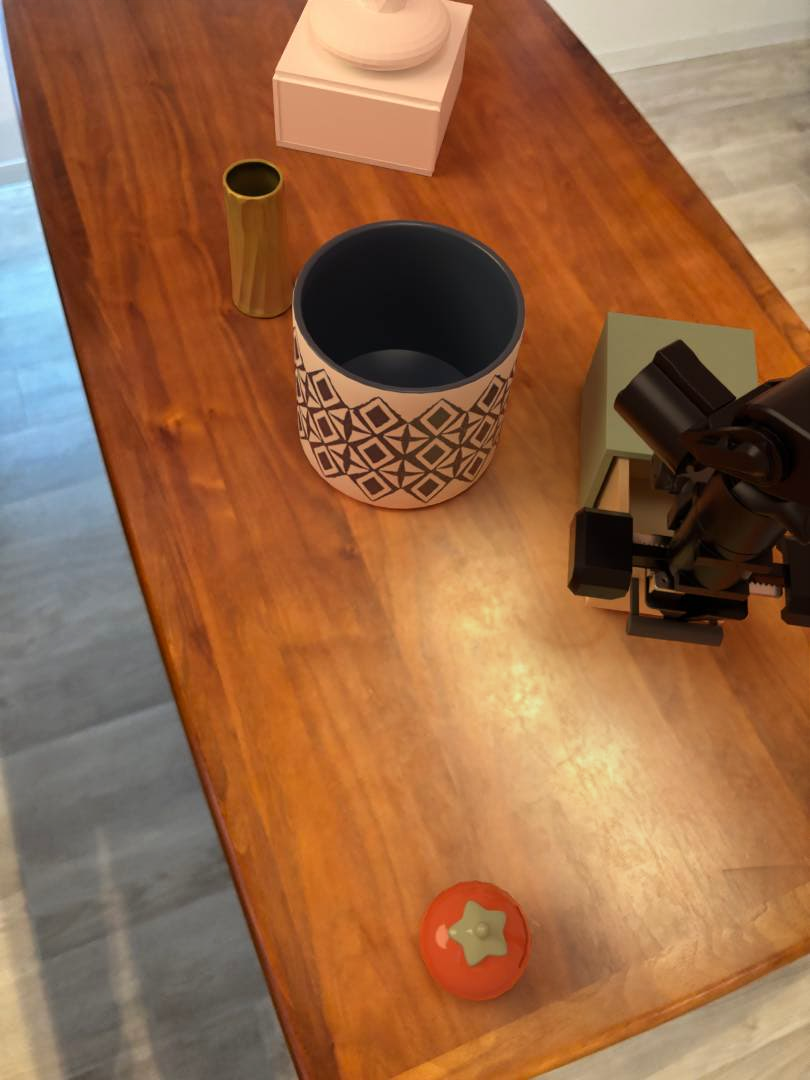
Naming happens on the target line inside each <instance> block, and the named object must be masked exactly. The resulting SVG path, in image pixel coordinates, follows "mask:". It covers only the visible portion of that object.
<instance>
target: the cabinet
mask: <svg viewBox="0 0 810 1080" xmlns="http://www.w3.org/2000/svg"><path fill="white" fill-rule="evenodd" d="M754 330H755V329H748V328H740V327H734V326H723V325H717V324H710V323H709V324H708V323H700V322H692V321H685V320H678V319H677V320H676V319H668V318H661V317H653V316H652V317H651V316H644V315H637V314H628V313H621V312H613V311H608V312H607V313H606V316H605V319H604V323H603V325H602V328H601V332H600V335H599V338H598V341H597V344H596V347H595V349H594V353H593V355H592V358H591V361H590V365H589V368H588V371H587V373H586V377H585V380H584V382H583V386H582V389H581V410H580V411H581V413H580V416H581V419H580V446H579V448H580V449H579V482H578V511H579V510H580V509H582V508H583V507H589V508H596V497H597V495H598V493H599V490H600V488H601V485H602V483H603V480H604V478H605V476H606V473H607V471H608V468H609V466H610V463H611V461H612V459H613V456H620V457H628V458H636V459H643V460H651V459H652V456H653V453H654V452H653V450H652V449H651V448H650V447H649V446H648V445H647V444H646V443H645V442H644V441H643V440H642V439H641V438H640V437H639V435H638V434H637V433H636V432H635V431H634V430H633V429H632V428H631V427H630V426H629V425H628V424H627V423H626V422H625V420H624V419H623V418H622V417H621V416H620V415H619V414H618V413H617V412H616V411H615V410H614V402H615V399H616V397H617V395H618V393H619V392H620V391H621V390H623V389H625V388H626V386H627V385H628V384H629V383H630V382H631V380H632V379H633V378H634V377H635V376H636V375H637V374H638V373H639V372H640V371H641V370H642V369H643V368H645V367H646V366H647V365H648V364H649V363H651V362H652V360H653V358H654V356H655V353H656V352H657V351H658V350H660V349H662V348H663V347H665V346H667V345H669V344H671V343H672V342H674V341H676V340H678V339H681V340H682V341H683V342H684V343H685V344H686V345H687V346H688V347H689V348H690V349H691V350H692V351H693V352H694V353H695V355H696V356H697V357H698V359H699V360H700V361H701V362H702V364H703V365H704V366H705V367H706V368H707V369H708V370H709V371H710V372H711V373H712V374H713V375H714V376H715V377H716V378H717V379H719V380H720V381H721V382H722V383H723V384H724V385H725V386H726V387H727V388H728V389H729V390H730V391H731V392H732V393H733V394H734V395H735V396H736V397H737V398H736V399H738V398H740V397H741V396H743V395H745V394H746V393H748V392H750V391H751V390H753V389H755V388H756V387H758V386H759V375H758V364H757V363H758V362H757V353H756V340H755V331H754Z"/></svg>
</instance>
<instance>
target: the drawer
mask: <svg viewBox="0 0 810 1080" xmlns="http://www.w3.org/2000/svg"><path fill="white" fill-rule="evenodd" d="M650 462H651V460H643V459H636V458H628V457H620V456H613V459H612V461H611V463H610V466H609V468H608V471H607V473H606V476H605V478H604V480H603V483H602V485H601V488H600V490H599V493H598V495H597V497H596V509H603V510H610V511H618V512H625V513H630V514H631V515H632V517H633V533H640V534H647V535H652V534H657V535H664V536H671V537H673V536H674V530H668V529H667V514H668V512H669V510H670V509H671V507H672V505H673V504H674V496H673V494H667V492H666V491H660V490H653V489H652V488H651V482H650V476H649V466H650ZM644 577H645V568H638V567H633V573H632V577H631V582H630V587H629V591H628V593H627V594H626V596H625V597H622V598H618V599H614V600H606V599H599V598H592V597H584V606H585V607H590V608H599V609H604V610H605V609H606V610H613V611H622V612H628V613H629V614H628V615H627V618H626V620H625V635H626V636H631V637H638V638H646V639H653V640H654V639H655V640H660V641H661V640H662V641H669V642H676V643H685V644H693V645H699V646H706V647H707V646H708V647H716V648H719V647H721V646H722V644H723V641H724V628H723V626H722V625H719V624H724V622H725V621H726V620H718V621H705V622H706V623H702V622H701V623H700V622H696V621H691V622H686V621H678V620H671V619H663V614H662V613H661V612H660V611H659V610H655V609H650V608H649V607H647V606H646V604H645V601H644ZM640 614H645V615H640ZM647 615H653V616H647ZM655 616H656V617H655ZM657 616H659V617H657ZM660 616H661V617H660Z"/></svg>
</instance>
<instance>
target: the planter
mask: <svg viewBox="0 0 810 1080" xmlns="http://www.w3.org/2000/svg"><path fill="white" fill-rule="evenodd" d="M293 287H294V291H293V303H292V305H291V307H292V333H293V335H292V336H293V354H294V356H293V357H294V374H295V375H294V377H295V392H296V393H295V394H296V411H297V412H296V413H297V427H298V432H299V433H298V434H299V440H300V443H301V446H302V449H303V452H304V454H305V456H306V458H307V460H308V461H309V464H311V466H312V468H314V470H315V471H316V472H317V474H319V476H320V477H321V478H322V479H323V480H325V482H327V484H329V485H330V486H331V487H332V488H334V489H336V490H337V491H339V492H340V493H342V494H344V495H346V496H347V497H350V498H352V499H354V500H356V501H359V502H362V503H364V504H369V505H371V506H375V507H381V508H388V509H416V508H417V509H418V508H425V507H428V506H432V505H436V504H440V503H443V502H445V501H447V500H450V499H452V498H454V497H455V496H457V495H459V494H461V493H462V492H464V491H466V490H467V489H468V488H470V487H471V486H472V485H473V484H474V483H476V482H477V481H478V480H479V479H480V477H481V476H482V475H483V474H484V472H485V471H486V470H487V468H488V467H489V465H490V463H491V461H492V460H493V457H494V455H495V452H496V449H497V446H498V441H499V438H500V434H501V430H502V425H503V421H504V417H505V413H506V409H507V405H508V400H509V398H510V397H509V396H510V392H511V388H512V385H513V379H514V374H515V371H516V366H517V362H518V358H519V354H520V349H521V345H522V342H523V341H522V340H523V336H524V331H525V325H526V317H527V310H526V300H525V296H524V293H523V290H522V286H521V284H520V282H519V280H518V279H517V277H516V274H515V273H514V271H513V270H512V269H511V268H510V267H509V265H508V264H507V263H506V261H505V260H504V259H503V258H502V257H501V256H500V255H499V254H498V253H497V252H496V251H495V250H494V249H492V248H491V247H490V246H488V245H487V244H485V243H484V242H482V241H481V240H479V239H477V238H475V237H474V236H472V235H470V234H468V233H466V232H464V231H461V230H458V229H456V228H453V227H451V226H447V225H444V224H439V223H435V222H432V221H425V220H417V219H390V220H380V221H376V222H369V223H366V224H365V223H364V224H362V225H359V226H356V227H352V228H349V229H348V230H345V231H343V232H341V233H339V234H337V235H335V236H334V237H332V238H330V239H329V240H327V241H326V242H325V243H323V244H322V245H321V246H320V247H319V248H318V249H316V251H314V252H313V253H312V254H311V255H310V257H309V258H308V259H307V261H306V262H305V263H304V264H303V266H302V268H301V269H300V272H299V273H298V276H297V277H296V280H295V284H294V286H293Z"/></svg>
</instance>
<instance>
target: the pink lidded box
mask: <svg viewBox="0 0 810 1080" xmlns="http://www.w3.org/2000/svg"><path fill="white" fill-rule="evenodd" d="M473 5H474V4H470V3H469V4H468V3H464V2H458V1H453V0H307V2H306V4H305V6H304V8H303V11H302V12H301V15H300V17H299V19H298V21H297V23H296V25H295V27H294V29H293V31H292V34H291V36H290V38H289V40H288V42H287V44H286V45H285V48H284V50H283V53H282V55H281V56H280V58H279V60H278V63H277V64H276V67H275V69H274V70H275V71H274V72H275V73H274V74H273V77H272V78H271V81H272V97H273V113H274V128H275V129H274V130H275V131H274V132H275V142H276V143H275V145H276V146H277V147H281V148H284V149H285V148H287V149H290V150H295V151H300V152H306V153H310V154H315V155H321V156H326V157H331V158H336V159H341V160H346V161H351V162H355V163H360V164H365V165H369V166H370V165H371V166H375V167H381V168H385V169H390V170H395V171H399V172H404V173H405V172H406V173H410V174H415V175H420V176H425V177H431V178H432V177H433V173H434V172H435V169H436V168H435V167H436V164H437V160H438V158H439V154H440V151H441V148H442V144H443V141H444V138H445V134H446V132H447V128H448V125H449V122H450V118H451V115H452V113H453V110H454V106H455V103H456V99H457V97H458V93H459V90H460V87H461V84H462V81H463V73H464V64H465V58H466V57H465V56H466V48H467V40H468V33H469V23H470V19H471V16H472V13H473V7H474V6H473Z"/></svg>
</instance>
